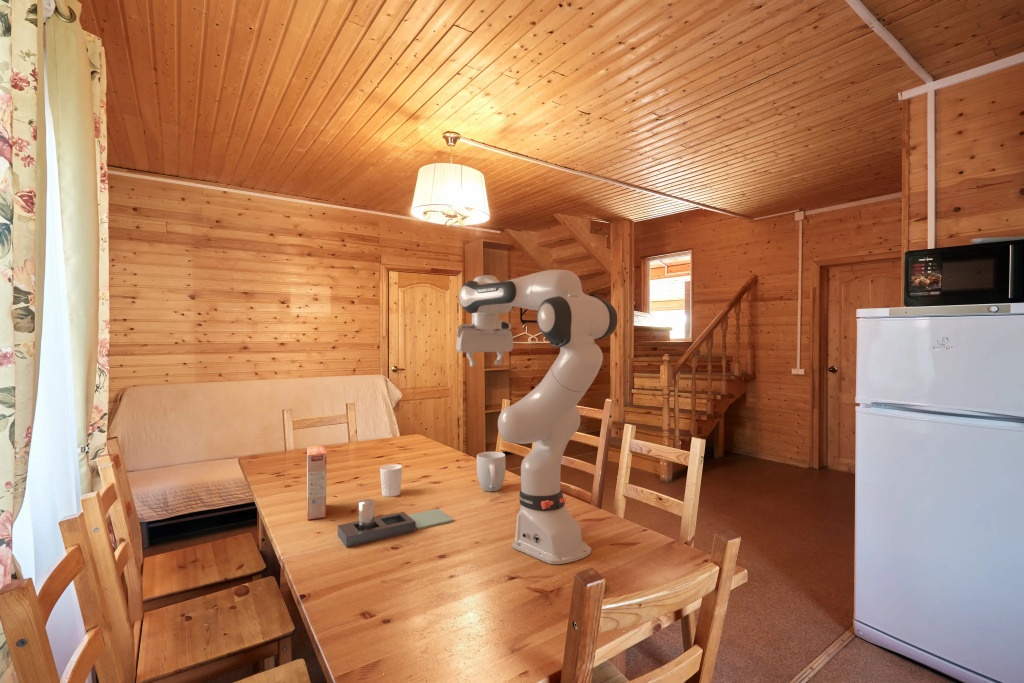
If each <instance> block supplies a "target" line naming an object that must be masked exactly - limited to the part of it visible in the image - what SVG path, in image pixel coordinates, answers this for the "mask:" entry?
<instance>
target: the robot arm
mask: <svg viewBox="0 0 1024 683" xmlns="http://www.w3.org/2000/svg"><path fill="white" fill-rule="evenodd" d="M582 288H583V287H582V282H581V279H580V278H579V276H578V275H577V274H576V273H574V272H573V271H571V270H567V269H547V270H541V271H538V272H535V273H534V272H533V273H530V274H527V275H524V276H521V277H519V276H518V277H515V278H512V279H508V280H505V281H500V280H498V279H497V277H496V276H494V275H493V274H483V275H482V274H481V275H478V276H476V277H474V278H473V280H467V281H466V282H465V283H464V284H463V285H462V286H461V288H460V289H459V293H458V302H459V305H460V306H461V307H462V309H463V310H464V311H465V312H466V313H467V314H471V323H470V324H469V323H468V324H465V323H462V324H460V325H459V326H458V327H457V329H456V335H457V338H456V342H455V343H456V347H455V349H456V351H457V352H458V353H466V358H467V360H468V361H469V366H470V367H476V366H477V361H476V360H474V358H473V356H474V353H496V355H497V357H496V359H494V366H501V365H502V364H501V362H502V359H503V357H504V355H505V354H504V353H505V352H512V351H513V349H514V337H513V333H512V331H511V329H512V323H510V322H508V321H505V320H502V319H500V318H499V314H506V313H510V312H511V311H513V310H514V308H520V309H525V310H530V311H537V312H536V324H537V328H538V329H539V330H540V332H541V334H542V335H543V336H544V338H545V339H547V340H548V342H549V344H550V346H552V347H553V348H557V349H558V348H560V349H559V354H558V355H557V357H556V359H555V360H554V362H553V363H552V365H551V366H550V368H549V370H547V372H546V374H545V376H543V379H541V381H540V382H539V383H538V384H537V386H535V387H534V388H533V389H532V390H531V391H529V392H528V393H527V394H526V395H525V396H524V397H522V398H521V399H520V400H518V401H516V402H514V404H511V405H509V406H507V407H504V408H503V409H502V410H501V412H500V414H498V418H497V429H498V433H499V435H500V436H501V438H502V439H503V441H505V442H507V443H508V444H509V443H510V444H518V445H525V444H533V443H534V446H533V448H532V449H531V451H530V452H529V453H528V454H527V455H526V456H525V457H524V458H523V459H522V461H521V465H520V490H519V496H518V499H519V504H520V508H519V510H518V514H517V516H516V525H515V537H514V538H515V539H514V540H513V542H511V543H512V544H511V548H513V549H514V550H517V551H520V552H522V553H524V554H526V555H528V556H530V557H531V556H532V557H533V558H535V559H537V560H540V561H542V562H545V563H547V564H550V565H562V564H567V563H569V564H570V563H572V562H576V561H579V560H581V559H584V558H585V557H587V556H590V554H592V547H590V545H588V544H587V543H586V542H584V541H583V536H582V535H583V534H582V530H581V527H580V524H579V522H578V520H576V519H574V518H573V516H572V515H571V513H570V512H569V510H568V509H567V508H566V506H565V505H566V502H567V500H566V499H567V496H566V497H564V495H563V492H562V489H561V469H562V468H561V467H562V461H563V456H564V452H565V450H566V448H567V445H568V443H569V442H570V440H571V438H572V437H573V436H574V435H575V434H576V433H577V432H578V431H579V428H580V425H581V415H580V411H579V410H578V407H577V405H578V404H579V402H580V400H581V399H582V398H583V396H585V394H586V393H587V391H588V390H589V388H590V387H591V386H592V384H593V383H594V381H595V378H596V377H597V376H598V373H599V371H600V369H601V367H602V364H603V360H604V356H603V354H604V353H603V352H602V349H601V348H600V347H599V345H598V344H597V343H595V341H596V340H602V339H606V338H608V337H610V336H611V335H612V334H613V333H614V332H615V331H616V329H617V326H618V313H617V310H616V308H615V307H614V306H613V305H612V304H611V302H609V301H606V300H605V299H603V298H601V297H600V296H598V295H597V294H595V293H593V292H592V293H590V294H586V293H584V292H583V289H582Z"/></svg>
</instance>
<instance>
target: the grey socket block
mask: <svg viewBox="0 0 1024 683" xmlns="http://www.w3.org/2000/svg"><path fill="white" fill-rule="evenodd" d="M408 515H409V514H407V513H406V512H405V511H400V512H395V513H390V514H386V515H381V516H376V517H375V516H374V527H375V528H371V529H367V530H362V531H359V520H356V521H351V522H347V523H343V524H337V537H338V538H339V540H340V541H341V542H342V544H343V545H344V546H345V548H351V547H355V546H359V545H364V544H368V543H372V542H377V541H380V540H385V539H389V538H395V537H399V536H402V535H408V534H412V533H416V530H417V529H416V524H415V521H414V520H413V519H412V518H411V517H409V516H408Z"/></svg>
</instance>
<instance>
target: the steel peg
mask: <svg viewBox="0 0 1024 683" xmlns="http://www.w3.org/2000/svg"><path fill="white" fill-rule="evenodd" d="M374 518H375V500H374V499H372V498H371V499H370V498H365V499H360V500H359V501H358V521H359V531H362V530H367V529H371V528H375V527H374Z"/></svg>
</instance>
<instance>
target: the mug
mask: <svg viewBox="0 0 1024 683" xmlns="http://www.w3.org/2000/svg"><path fill="white" fill-rule="evenodd" d="M506 463H507V462H506V454H505V453H504V452H500V451H483V452H480V453H478V454H476V473H477V474H476V475H477V480H478V484H479V485H480V487H481V489H482V490H483V491H484V492H492V491H494V492H497V491H500V490H501V488H502V487H503V485H504V481H505V478H506V469H507V468H506Z"/></svg>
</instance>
